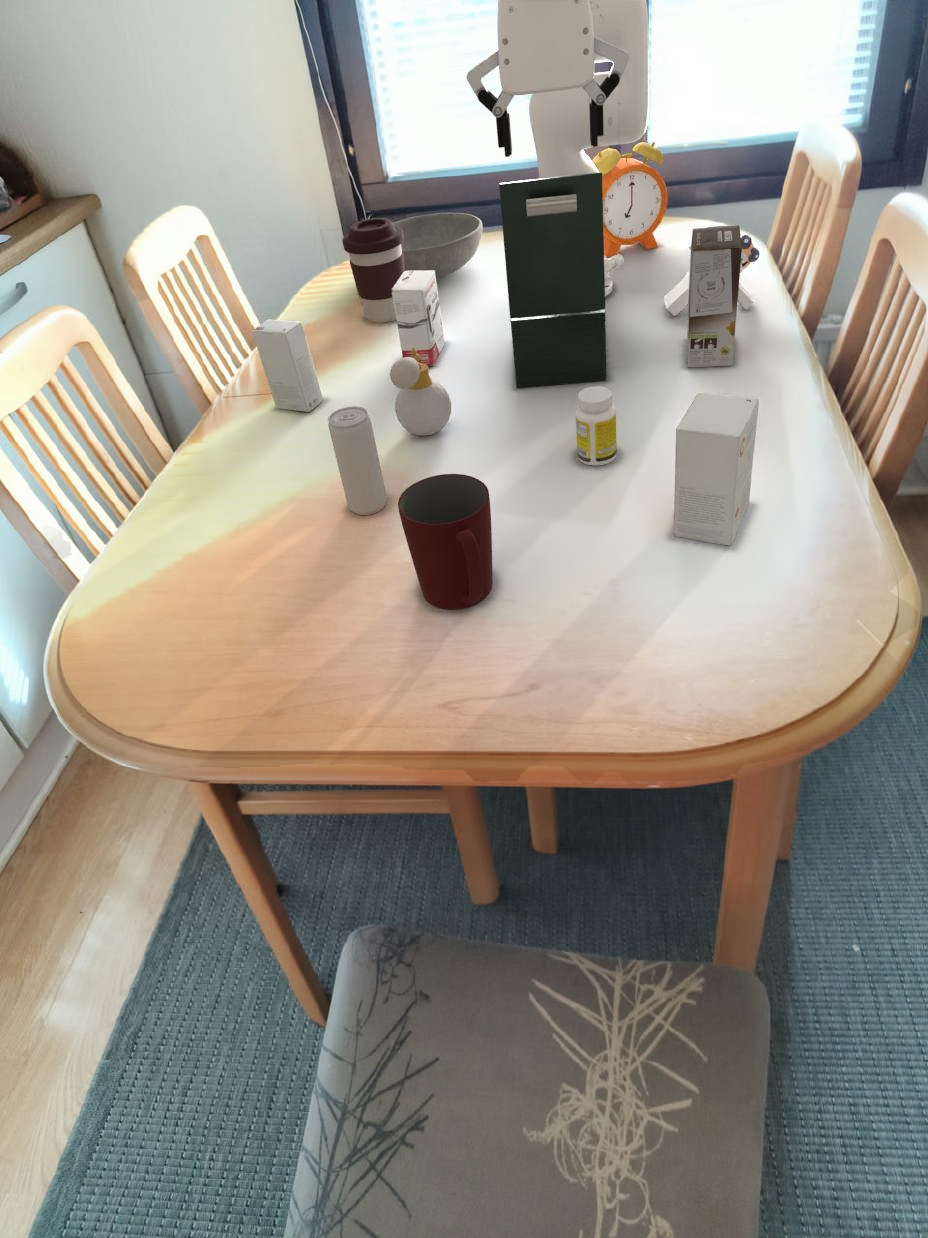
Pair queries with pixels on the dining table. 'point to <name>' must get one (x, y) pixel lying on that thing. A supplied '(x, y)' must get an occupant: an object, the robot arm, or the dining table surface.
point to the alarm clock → (631, 197)
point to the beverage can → (357, 460)
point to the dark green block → (554, 244)
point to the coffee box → (713, 295)
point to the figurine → (681, 291)
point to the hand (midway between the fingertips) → (551, 148)
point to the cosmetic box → (288, 365)
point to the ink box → (419, 315)
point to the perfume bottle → (419, 397)
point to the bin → (559, 348)
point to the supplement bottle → (596, 426)
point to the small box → (714, 467)
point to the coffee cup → (375, 265)
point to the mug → (449, 538)
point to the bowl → (439, 241)
